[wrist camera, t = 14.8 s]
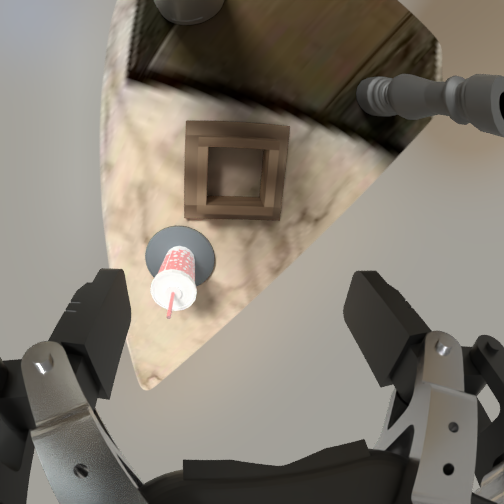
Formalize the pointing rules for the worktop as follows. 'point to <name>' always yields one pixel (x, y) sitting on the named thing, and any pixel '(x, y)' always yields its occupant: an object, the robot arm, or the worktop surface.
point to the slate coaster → (186, 239)
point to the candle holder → (437, 99)
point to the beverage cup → (175, 281)
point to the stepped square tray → (234, 136)
